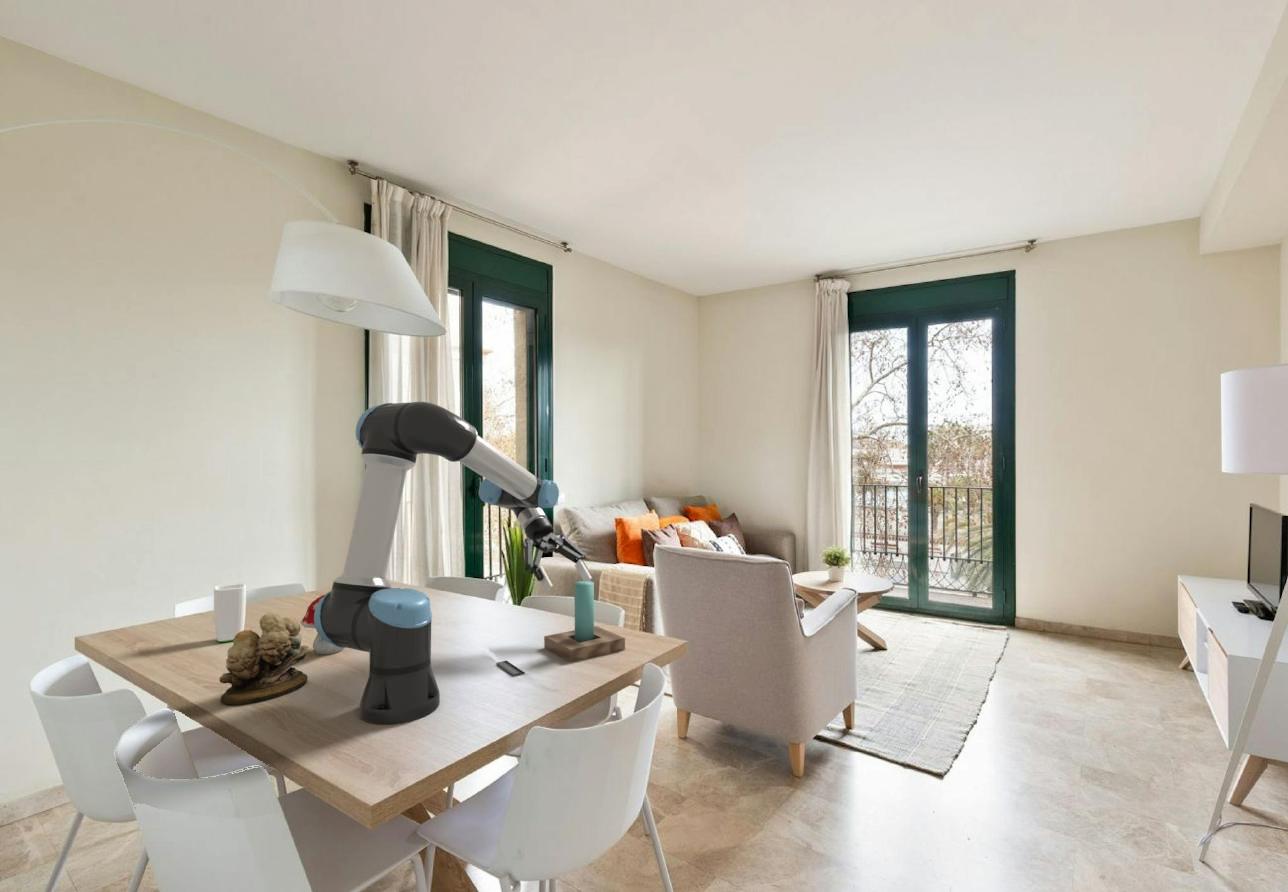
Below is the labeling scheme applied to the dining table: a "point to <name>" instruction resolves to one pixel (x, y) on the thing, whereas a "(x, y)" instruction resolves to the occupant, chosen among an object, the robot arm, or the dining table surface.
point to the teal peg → (584, 611)
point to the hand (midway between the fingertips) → (569, 585)
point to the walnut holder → (584, 644)
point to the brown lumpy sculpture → (264, 662)
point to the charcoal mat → (510, 668)
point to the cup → (229, 610)
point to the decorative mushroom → (319, 643)
